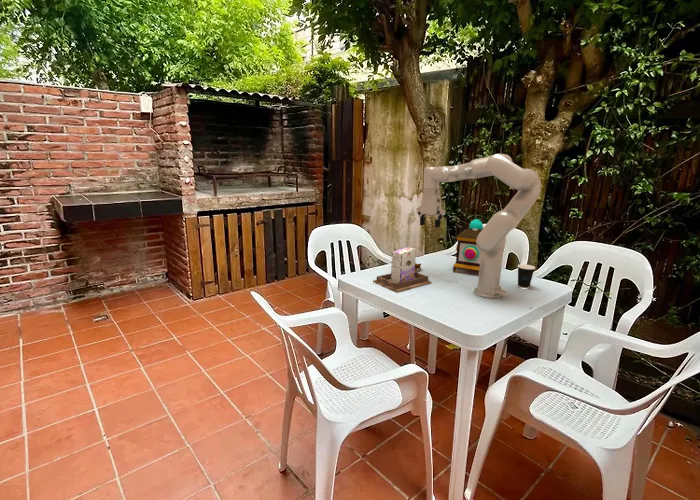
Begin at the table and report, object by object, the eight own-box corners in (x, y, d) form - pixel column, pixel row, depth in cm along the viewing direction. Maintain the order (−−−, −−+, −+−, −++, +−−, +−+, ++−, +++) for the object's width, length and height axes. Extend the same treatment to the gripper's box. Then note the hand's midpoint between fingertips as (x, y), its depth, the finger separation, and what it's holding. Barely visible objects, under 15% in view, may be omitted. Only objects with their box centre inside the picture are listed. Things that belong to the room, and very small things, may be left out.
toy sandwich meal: (408, 274, 205) (408, 265, 204) (394, 267, 216) (394, 259, 215) (426, 271, 211) (426, 263, 209) (411, 265, 222) (411, 257, 221)
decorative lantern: (486, 278, 198) (492, 223, 191) (449, 272, 207) (454, 219, 200) (492, 269, 215) (498, 218, 208) (458, 264, 224) (463, 215, 217)
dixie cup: (525, 284, 190) (528, 263, 187) (535, 289, 182) (538, 268, 179) (511, 285, 188) (514, 264, 185) (521, 290, 180) (524, 269, 178)
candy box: (405, 276, 195) (406, 246, 192) (414, 279, 192) (416, 248, 188) (390, 283, 185) (391, 251, 181) (400, 285, 182) (401, 253, 178)
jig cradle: (431, 283, 189) (432, 276, 188) (397, 292, 175) (397, 285, 174) (406, 274, 203) (406, 268, 202) (372, 282, 189) (373, 275, 188)
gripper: (450, 192, 180) (448, 227, 183) (422, 191, 193) (421, 223, 197) (440, 193, 175) (438, 229, 179) (412, 191, 188) (411, 224, 192)
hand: (429, 226), depth 188 cm, fingers open, 9 cm apart
